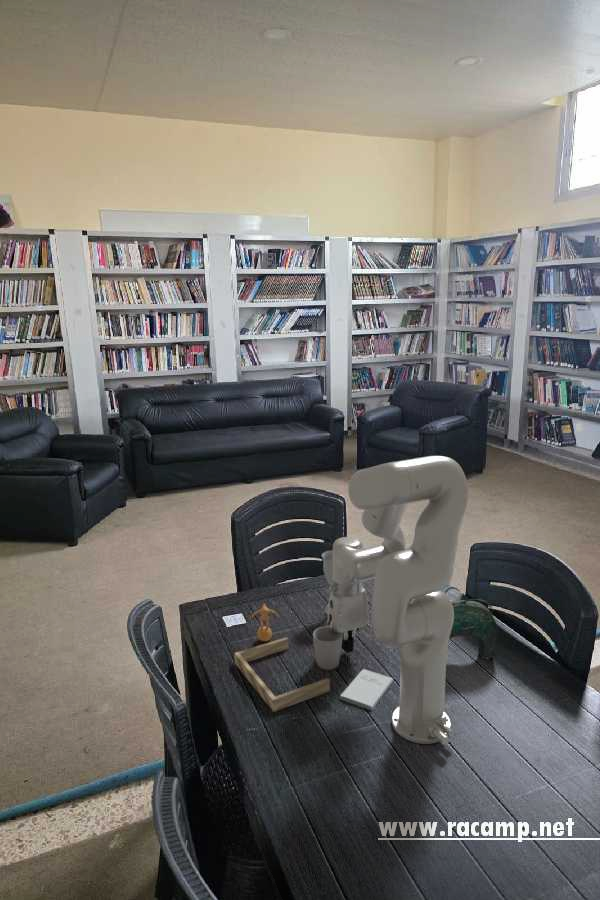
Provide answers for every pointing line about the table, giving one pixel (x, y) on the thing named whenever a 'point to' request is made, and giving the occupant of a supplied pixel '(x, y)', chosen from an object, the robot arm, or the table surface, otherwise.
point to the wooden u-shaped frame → (262, 689)
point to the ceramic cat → (475, 624)
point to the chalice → (328, 568)
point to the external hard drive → (366, 689)
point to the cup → (327, 648)
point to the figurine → (264, 631)
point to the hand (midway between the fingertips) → (347, 649)
